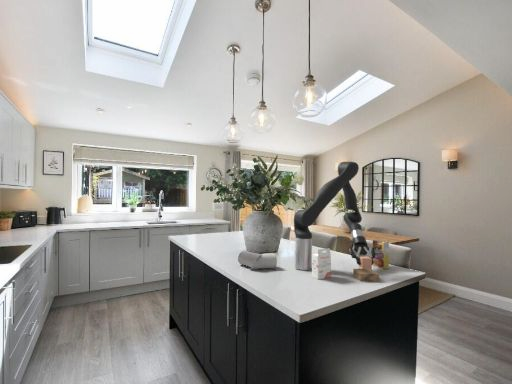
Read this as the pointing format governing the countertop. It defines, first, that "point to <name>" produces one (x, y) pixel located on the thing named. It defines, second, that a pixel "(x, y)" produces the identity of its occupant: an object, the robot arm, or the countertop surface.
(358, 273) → the walnut block
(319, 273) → the ink cartridge box
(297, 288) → the countertop surface
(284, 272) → the countertop surface
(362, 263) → the terracotta block
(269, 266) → the bent grey cylinder
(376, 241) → the candy box
